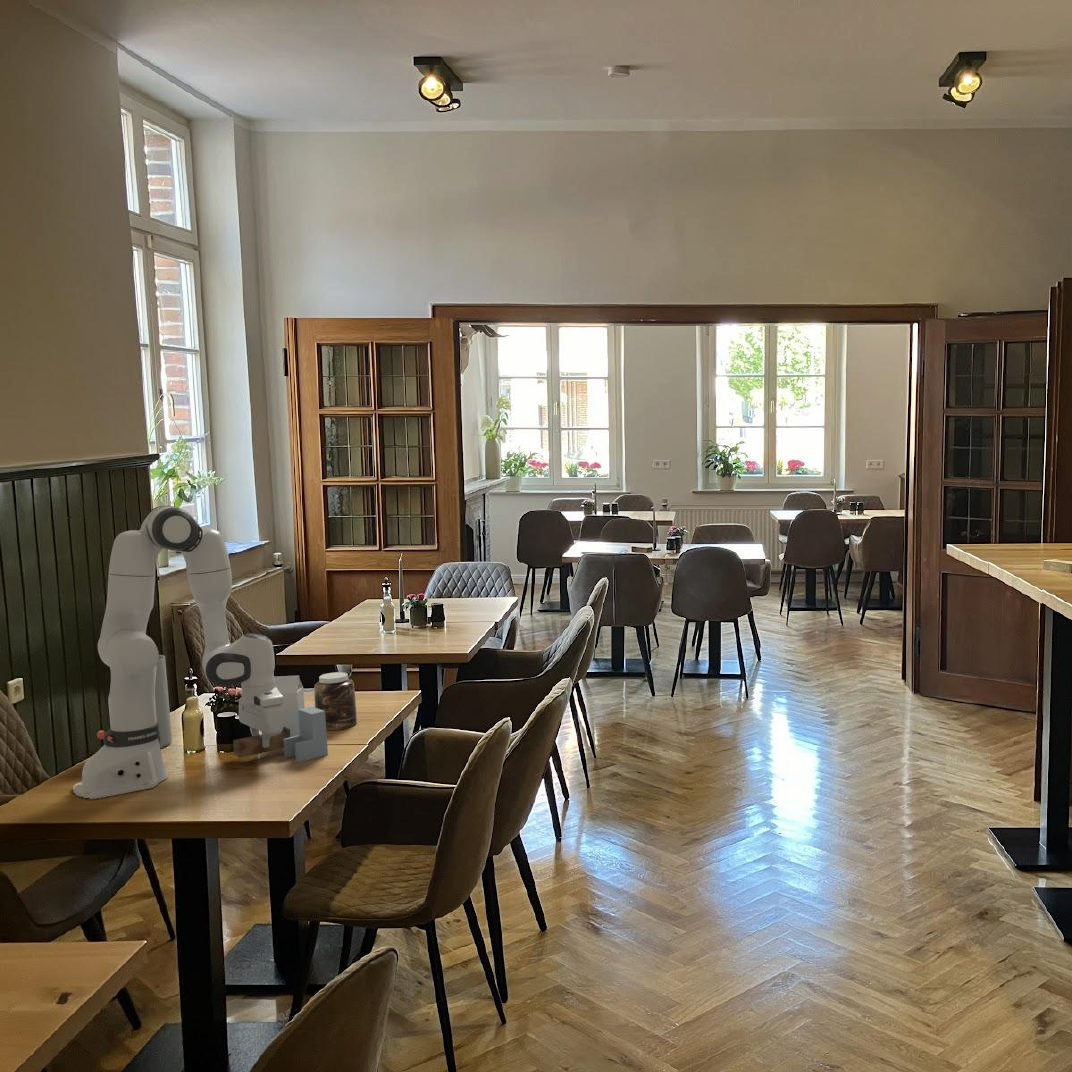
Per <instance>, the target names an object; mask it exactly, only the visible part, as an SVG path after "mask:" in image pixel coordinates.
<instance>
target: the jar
mask: <svg viewBox="0 0 1072 1072" xmlns="http://www.w3.org/2000/svg"><path fill="white" fill-rule="evenodd" d="M318 679H319V680H318V682H316V683H315V684H314V686H313V687H314V688H313V691H314V692H313V694H314V695H313V696H314V708H317V709H320V710H323V711H325V720H326V731H339V730H345V729H349V728H352V727H354V726H355V725H357V723H358V720H357V705H356V703H357V702H356V690H355V682H354V681H353V680H352V679H351V678H349V675H348V673H347V672H342V671H341V672H337V671H336V672H329V673H322V674H321V675H320V676H319V677H318Z"/></svg>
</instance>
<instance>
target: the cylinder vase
mask: <svg viewBox="0 0 1072 1072" xmlns="http://www.w3.org/2000/svg"><path fill="white" fill-rule="evenodd" d="M168 688H169V687H168V679H167V666H166V655H163V654H159V658H158V662H157V667H156V680H155V706H156V718H157V722H158V723H159V728H160V749H162V748H165V747H167V746H168V745H170V744H171V743H172V742H173V735H172V726H171V713H170V712H171V711H170V701H169V700H170V699H169V689H168Z"/></svg>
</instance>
